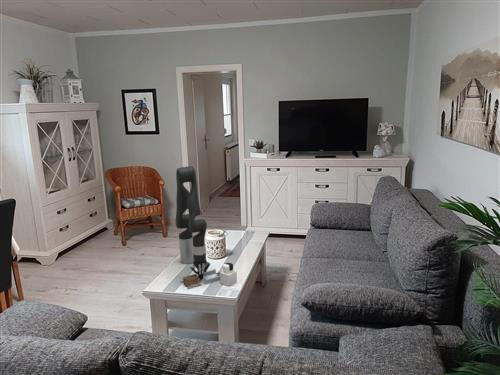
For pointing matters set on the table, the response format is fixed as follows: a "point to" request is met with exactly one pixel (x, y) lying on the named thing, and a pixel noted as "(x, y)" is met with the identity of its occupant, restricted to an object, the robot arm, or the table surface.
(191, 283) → the block
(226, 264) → the medicine bottle
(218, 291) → the table surface
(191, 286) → the strips
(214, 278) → the channel
